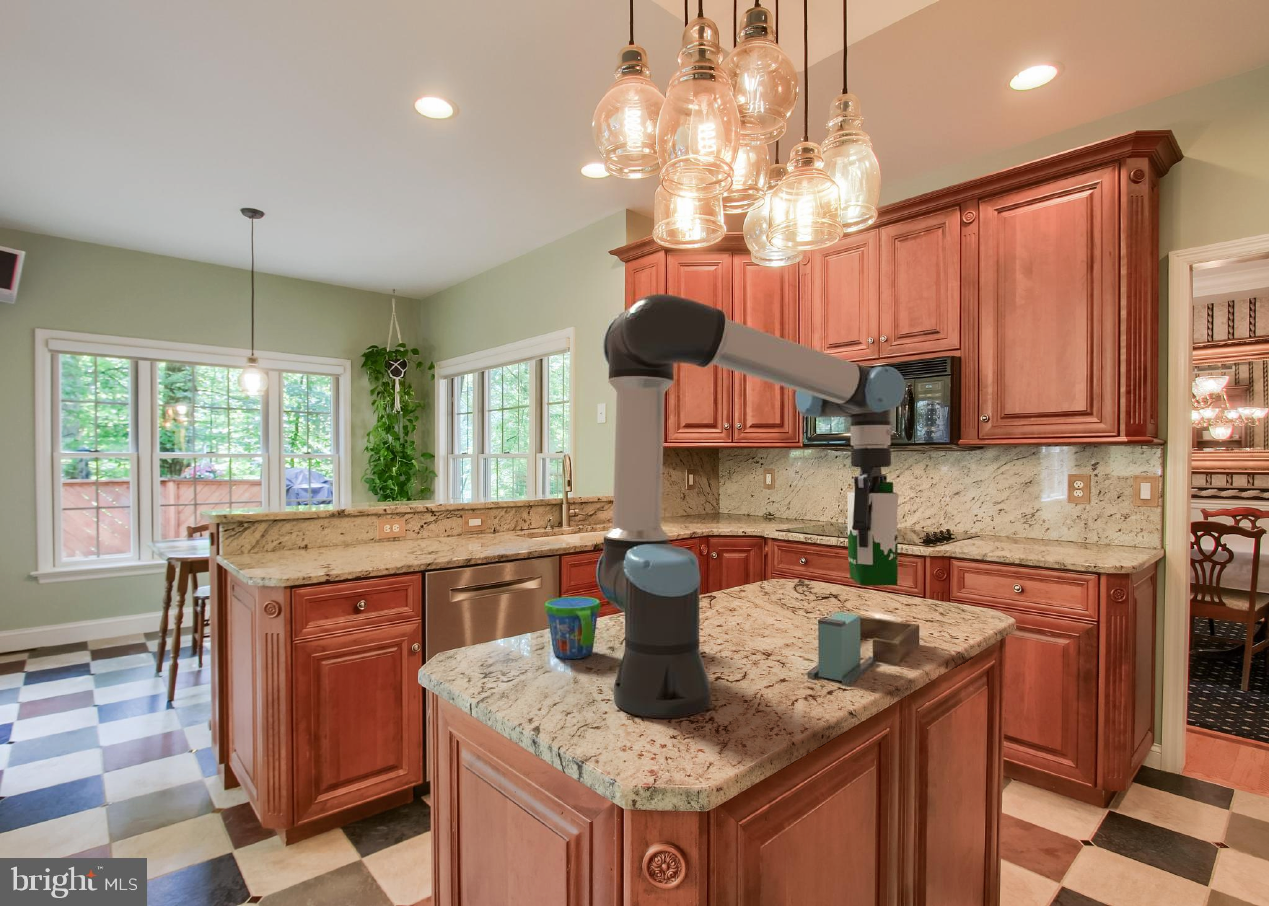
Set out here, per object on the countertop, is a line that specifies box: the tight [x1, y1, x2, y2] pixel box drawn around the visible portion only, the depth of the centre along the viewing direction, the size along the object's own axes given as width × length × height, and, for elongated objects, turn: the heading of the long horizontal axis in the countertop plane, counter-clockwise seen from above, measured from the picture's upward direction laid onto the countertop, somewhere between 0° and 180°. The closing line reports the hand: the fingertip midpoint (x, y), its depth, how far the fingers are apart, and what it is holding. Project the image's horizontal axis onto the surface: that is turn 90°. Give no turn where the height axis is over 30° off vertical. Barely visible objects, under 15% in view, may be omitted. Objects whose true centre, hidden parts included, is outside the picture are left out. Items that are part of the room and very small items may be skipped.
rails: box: [806, 655, 877, 687], centre depth 112 cm, size 7×15×1 cm, turn 143°
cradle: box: [860, 615, 920, 666], centre depth 126 cm, size 14×16×4 cm
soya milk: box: [846, 481, 899, 586], centre depth 127 cm, size 9×9×20 cm
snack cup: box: [544, 596, 602, 660], centre depth 122 cm, size 16×10×10 cm
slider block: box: [817, 611, 862, 682], centre depth 111 cm, size 4×10×10 cm, turn 143°
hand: (871, 560), depth 127 cm, fingers closed on soya milk, 8 cm apart
